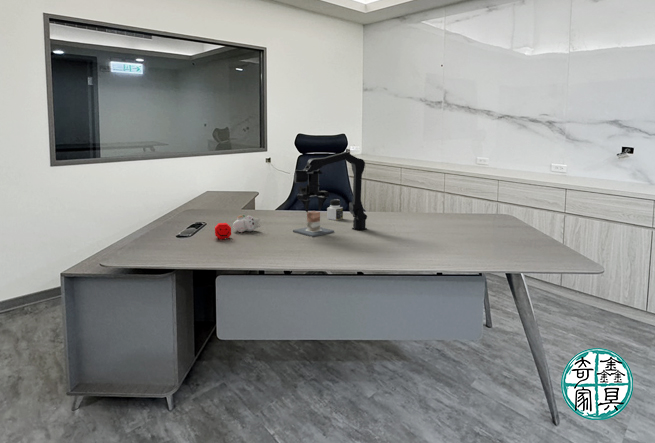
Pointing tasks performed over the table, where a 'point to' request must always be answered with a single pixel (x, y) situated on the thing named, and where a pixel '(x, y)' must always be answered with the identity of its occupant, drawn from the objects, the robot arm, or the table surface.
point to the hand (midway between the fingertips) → (313, 210)
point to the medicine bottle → (335, 210)
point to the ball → (222, 230)
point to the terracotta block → (313, 216)
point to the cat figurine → (246, 223)
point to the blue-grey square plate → (313, 233)
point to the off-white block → (313, 226)
